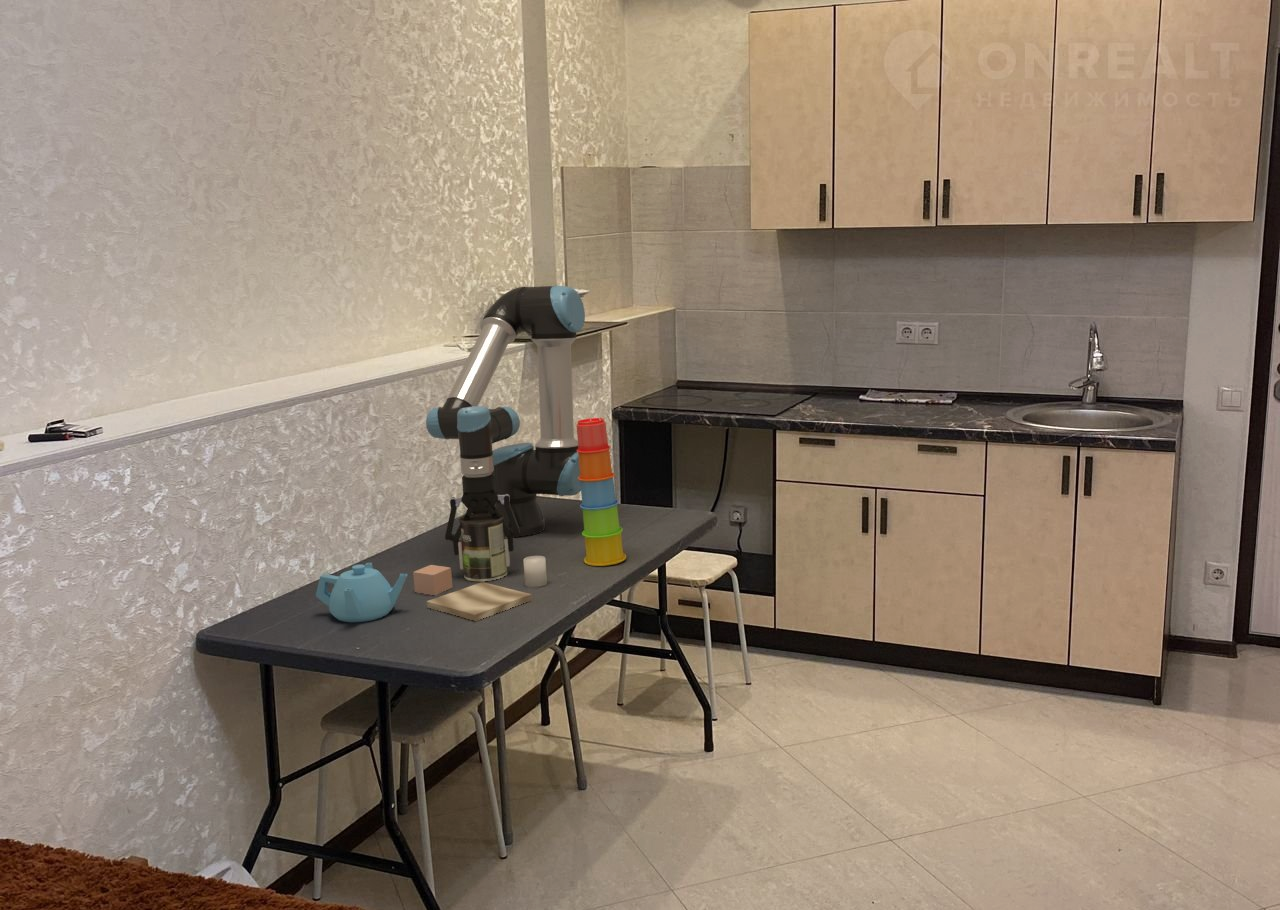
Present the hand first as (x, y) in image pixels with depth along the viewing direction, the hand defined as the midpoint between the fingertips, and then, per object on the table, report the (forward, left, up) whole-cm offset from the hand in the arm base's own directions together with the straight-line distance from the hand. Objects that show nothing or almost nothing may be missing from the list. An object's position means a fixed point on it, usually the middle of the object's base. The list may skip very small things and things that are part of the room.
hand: (485, 566), depth 275 cm
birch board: (+15, +15, -2) cm, 21 cm away
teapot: (+33, -2, -3) cm, 33 cm away
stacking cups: (-24, +16, -3) cm, 29 cm away
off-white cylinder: (-2, +15, -2) cm, 15 cm away
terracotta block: (+14, -2, -2) cm, 14 cm away
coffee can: (0, 0, -3) cm, 3 cm away
